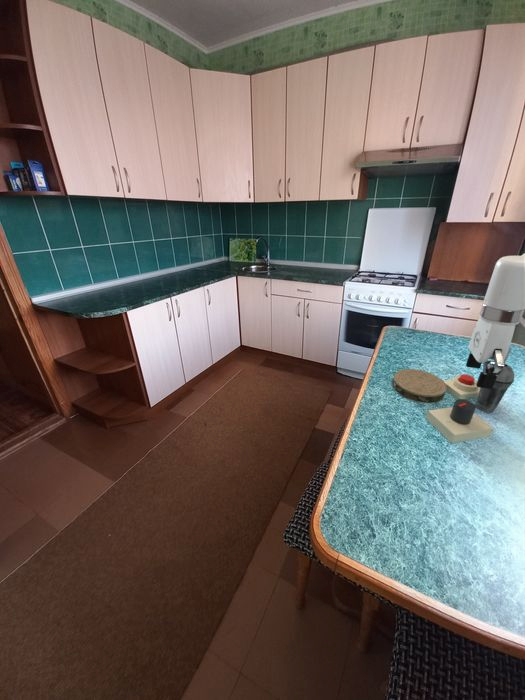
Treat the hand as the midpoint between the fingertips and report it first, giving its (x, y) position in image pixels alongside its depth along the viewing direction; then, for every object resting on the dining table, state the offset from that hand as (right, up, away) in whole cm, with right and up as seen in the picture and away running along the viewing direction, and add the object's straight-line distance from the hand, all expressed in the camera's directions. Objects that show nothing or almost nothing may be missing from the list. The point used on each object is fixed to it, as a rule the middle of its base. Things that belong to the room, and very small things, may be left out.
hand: (477, 376), depth 74 cm
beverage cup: (+13, -11, +15) cm, 23 cm away
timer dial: (0, -12, +6) cm, 14 cm away
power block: (+12, -7, +23) cm, 27 cm away
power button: (+12, -4, +21) cm, 24 cm away
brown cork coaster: (-2, -6, +25) cm, 26 cm away
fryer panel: (0, -15, +8) cm, 17 cm away
